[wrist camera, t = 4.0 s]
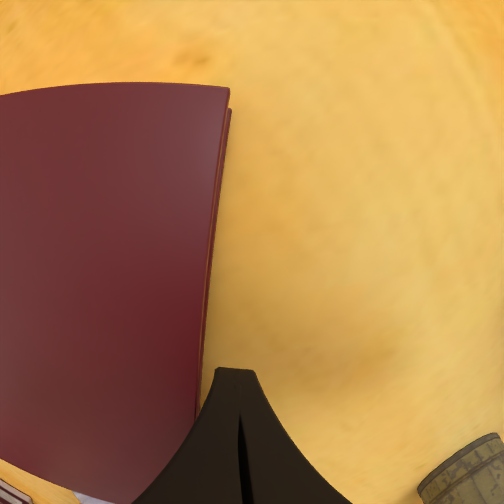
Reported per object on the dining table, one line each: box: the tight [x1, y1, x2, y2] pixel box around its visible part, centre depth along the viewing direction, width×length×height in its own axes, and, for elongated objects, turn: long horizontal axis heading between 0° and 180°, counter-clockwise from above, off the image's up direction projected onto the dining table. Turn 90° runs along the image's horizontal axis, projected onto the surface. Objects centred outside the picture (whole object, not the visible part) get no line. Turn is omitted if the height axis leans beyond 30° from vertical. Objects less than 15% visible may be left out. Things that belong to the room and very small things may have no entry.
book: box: [0, 82, 232, 504], centre depth 8 cm, size 16×11×3 cm
